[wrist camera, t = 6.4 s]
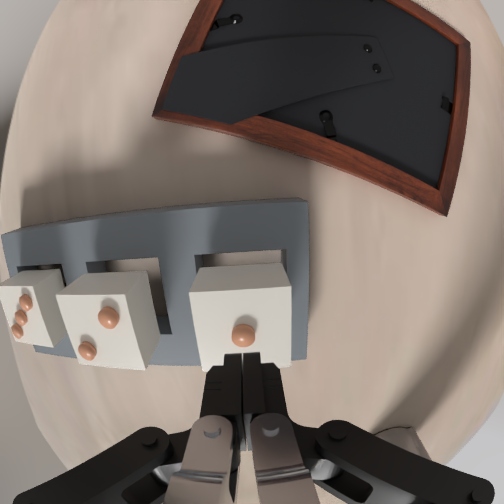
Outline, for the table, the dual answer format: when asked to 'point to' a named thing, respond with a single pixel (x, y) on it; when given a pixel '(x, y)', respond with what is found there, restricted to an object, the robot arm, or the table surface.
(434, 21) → the picture frame
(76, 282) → the tile two
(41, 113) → the table surface
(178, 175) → the table surface
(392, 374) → the table surface
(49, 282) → the tile three
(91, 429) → the table surface
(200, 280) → the tile one
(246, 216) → the board
